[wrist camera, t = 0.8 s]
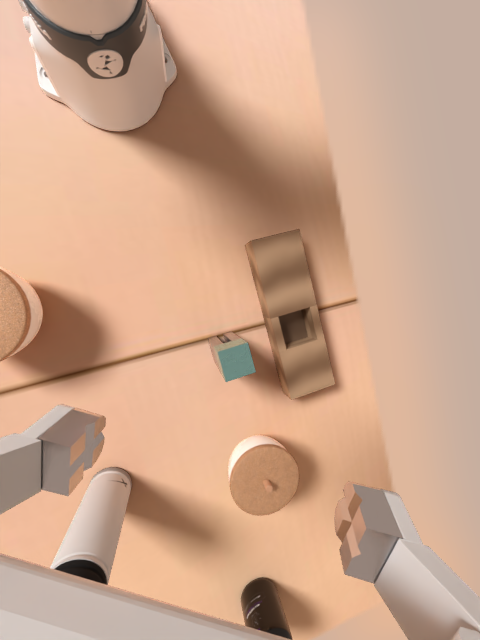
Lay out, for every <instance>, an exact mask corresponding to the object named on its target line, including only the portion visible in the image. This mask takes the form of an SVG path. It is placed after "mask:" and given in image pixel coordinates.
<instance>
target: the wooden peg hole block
mask: <svg viewBox="0 0 480 640" xmlns="http://www.w3.org/2000/svg"><path fill="white" fill-rule="evenodd" d="M245 247H246V251H247V255H248V259H249V263H250V267H251V270H252V274H253V278H254V282H255V286H256V290H257V294H258V298H259V301H260V305H261V309H262V313H263V317H264V321H265V325H266V329H267V332H268V336H269V340H270V344H271V348H272V352H273V356H274V360H275V364H276V367H277V371H278V375H279V379H280V383H281V387H282V391H283V393H284V394H285V395H287V396H288V397H289V398H290V399H291V400H293V399H296V398H299V397H301V396H304V395H307V394H310V393H313V392H315V391H318V390H321V389H324V388H327V387H329V386H332V385H335V381H334V377H333V372H332V368H331V364H330V359H329V355H328V351H327V346H326V342H325V338H324V334H323V329H322V325H321V321H320V316H319V312H318V308H317V303H316V299H315V295H314V290H313V286H312V282H311V277H310V273H309V269H308V264H307V260H306V256H305V251H304V247H303V243H302V238H301V234H300V230H299V229H297V230H293V231H288V232H284V233H280V234H276V235H272V236H268V237H264V238H260V239H256V240H252V241H250V242H249V243H247V244H246V245H245Z"/></svg>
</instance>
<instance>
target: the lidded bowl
mask: <svg viewBox="0 0 480 640" xmlns="http://www.w3.org/2000/svg"><path fill="white" fill-rule="evenodd" d="M42 318H43V309H42V304H41V301H40V299H39V296H38V295H37V293H36V291H35V290H34V289H33V287H32V286H31V285H30V284H29V283H28V282H27V281H25V280H24V279H23V278H21V277H20V276H18V275H17V274H15V273H13V272H11V271H9V270H6V269H4V268H2V267H0V361H2V360H4V359H6V358H8V357H10V356H12V355H14V354H16V353H17V352H19V351H20V350H22V349H23V348H25V347H26V346H27V345H28V344H29V343H30V342H31V341H32V340H33V339H34V337H35V336H36V335H37V333H38V331H39V329H40V327H41V323H42Z"/></svg>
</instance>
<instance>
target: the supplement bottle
mask: <svg viewBox="0 0 480 640" xmlns="http://www.w3.org/2000/svg"><path fill="white" fill-rule="evenodd" d="M241 605H242V611H243V616H244V621H245V626H247V627H250V628H253V629H257V630H260V631H264V632H267V633H270V634H274V635H277V636H281V637H284V638H287V639H291V640H292V635H291V632H290V629H289V626H288V623H287V620H286V616H285V613H284V610H283V607H282V604H281V601H280V598H279V595H278V592H277V589H276V586H275V585H274V583H273V582H272V581H270V580H268V579H265V578H259V579H255V580H253V581H251V582H250V583H249V584H248V585H247V586H246V587H245V589H244V590H243V593H242V596H241Z"/></svg>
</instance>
